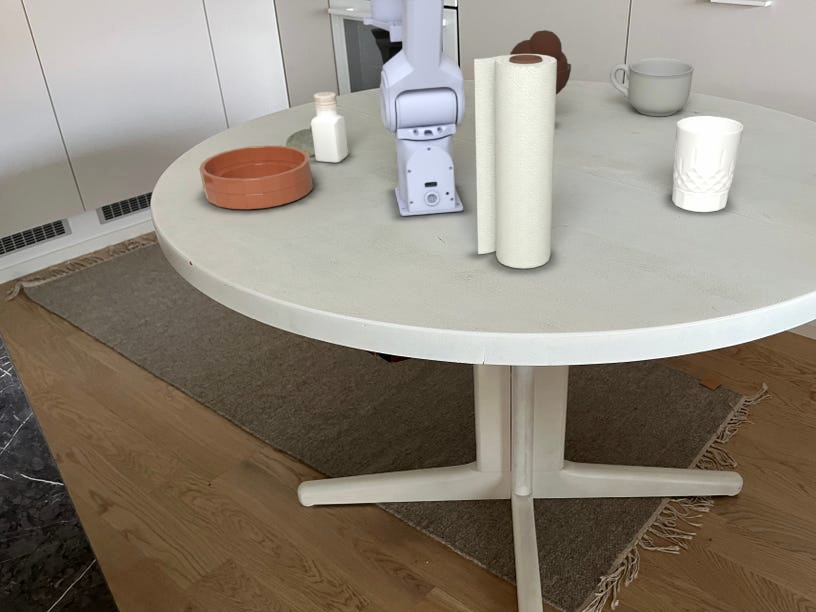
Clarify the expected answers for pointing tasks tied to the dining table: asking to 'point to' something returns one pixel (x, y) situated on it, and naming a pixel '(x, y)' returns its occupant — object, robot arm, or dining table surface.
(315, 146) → the pepper shaker
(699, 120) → the white cup
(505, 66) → the paper towel roll
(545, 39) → the brown rounded tall piece
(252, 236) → the dining table surface
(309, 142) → the soupspoon
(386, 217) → the dining table surface
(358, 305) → the dining table surface
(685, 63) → the teacup
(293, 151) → the clay bowl
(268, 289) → the dining table surface
